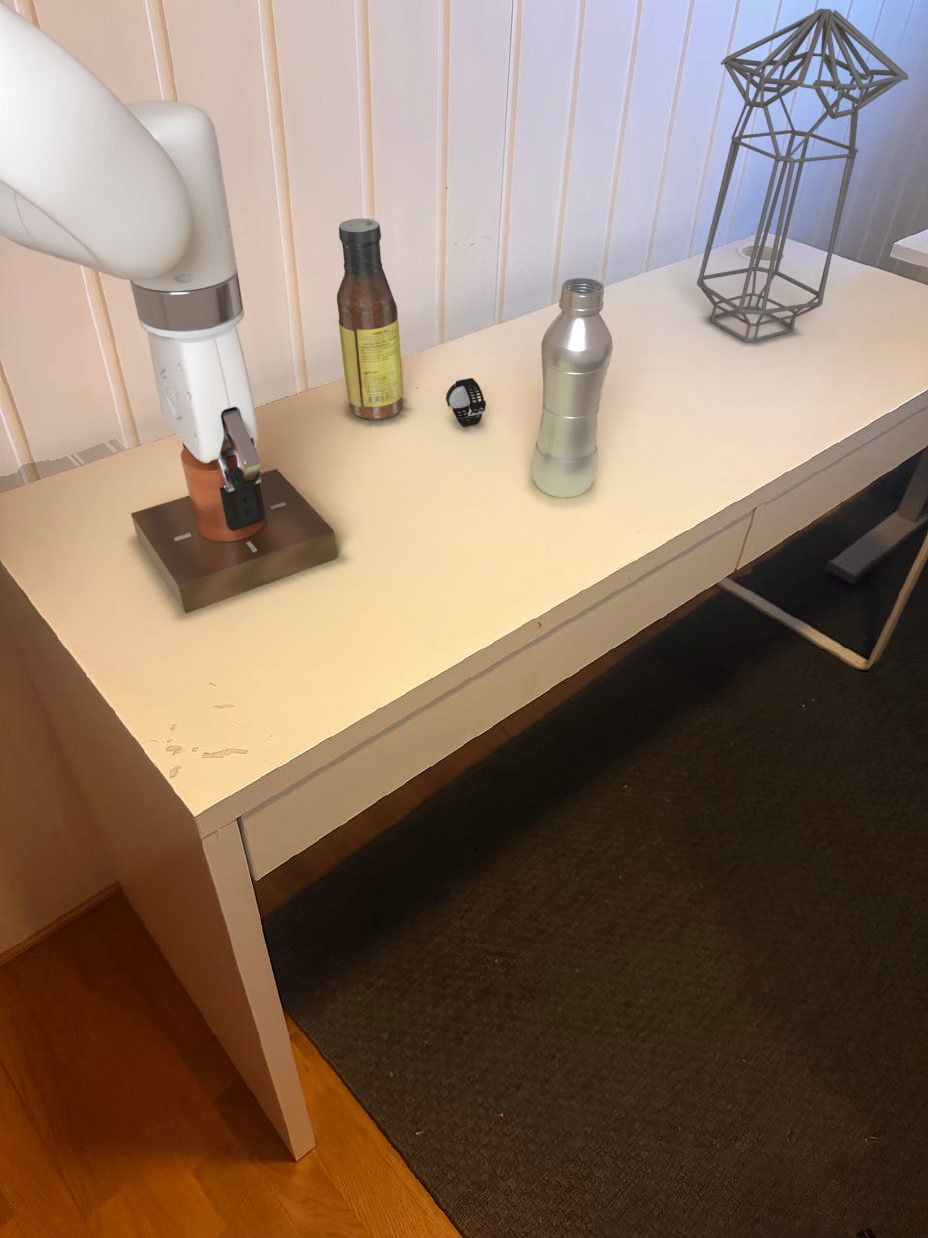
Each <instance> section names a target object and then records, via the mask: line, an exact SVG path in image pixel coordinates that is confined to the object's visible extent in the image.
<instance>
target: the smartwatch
mask: <svg viewBox="0 0 928 1238" xmlns="http://www.w3.org/2000/svg"><path fill="white" fill-rule="evenodd" d="M445 401H446V403H447V407H450V408H452V412H453V414H454V416H455V418H456V420H457V421H458V423H459V424H460V426H461V427H463V428H466V427H470V426H471V427H472V426H475V425H479V424H480V422H481V420H482V418H483V414H484V413H486V411H487V410H486V407H487V401H486V400H485V399H484V395H483V391H482V389H481V387H480V385H479V383H478V382H477V381H476V380H475V379H474V378H473V377H469V378H464V379H459V380H456V381H455V383H454V384H452V385H451V386H450V387H449V389H448V390H447V392H446V396H445Z"/></svg>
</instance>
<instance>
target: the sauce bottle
mask: <svg viewBox="0 0 928 1238" xmlns="http://www.w3.org/2000/svg"><path fill="white" fill-rule="evenodd" d="M338 236H339V240H340V242H341V245H342V252H343V253H342V254H343V261H344V263H343V269H344V273H343V277H342V280H341V282H340V285H339V288H338V291H337V293H336V304H337V311H338V328H339V337H340V347H341V355H342V364H343V373H344V381H345V388H346V397H347V400H348V402H349V410H350V412H351V414H353V415H355V416H357V417H359V418H361V419H364V420H369V421H383V420H387V419H389V418H393V417H395V416H396V415H398V414H399V413H400V412H401V411H402V409H403V407H404V405H403V396H404V380H403V367H402V366H403V365H402V355H401V354H402V353H401V339H400V329H399V327H400V326H399V314H398V313H399V312H398V306H397V303H396V301H395V298H394V295H393V293H392V290H391V287H390V285H389V281H388V279H387V276H386V273H385V270H384V268H383V263H382V256H381V255H382V253H381V244H380V241H381V240H382V239H381V238H382V232H381V226H380V223H379V222H378V221H376V220H374V219H371V218H353V219H352V218H351V219H348V220H344V221H342V222H341V223H339V224H338Z"/></svg>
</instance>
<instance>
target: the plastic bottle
mask: <svg viewBox="0 0 928 1238" xmlns="http://www.w3.org/2000/svg"><path fill="white" fill-rule="evenodd" d="M604 294H605V285H604V283H602V282H601V281H599V280H596V279H593V278H588V277H574V278H569V279H567V280H565V281H563V283H561V291H560V298H559V300H558V307H559V309H560V310H561V311H560V313H559V314H558V315H557V316H556V317H555V318H554V319H553V320H552V322H551V323H550V324H549V326H548V327H547V329H546V330H545V332H544V334H543V338H542V340H541V344H540V345H541V346H540V355H541V371H542V373H541V374H542V404H541V405H542V407H541V410H542V411H541V417H540V422H539V430H538V433H537V434H538V435H537V440H536V442H535V445H534V449H533V452H532V457H531V463H530V465H531V476H532V479H533V481H534V483H535V484H536V486H537V487H538V489H539V490H541V492H543V493H544V494H547V495H549V496H553V497H556V498H572V497H576V496H580V495H582V494H584V493H585V492H586V491H587V490H588V489H589V488H590V487H591V486H592V485H593V483H594V482H595V478H596V475H597V472H598V469H599V453H598V445H597V443H598V441H597V439H598V417H599V411H600V403H601V400H602V394H603V388H604V385H605V381H606V377H607V375H608V370H609V366H610V364H611V359H612V356H613V350H614V343H613V338H612V337H613V336H612V334H611V332H610V330H609V328H608V325H607V323H606V322H605V321H604V319H603V317H602V316H601V314H600V312H602V311H603V309H604V304H605V303H604Z"/></svg>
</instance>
